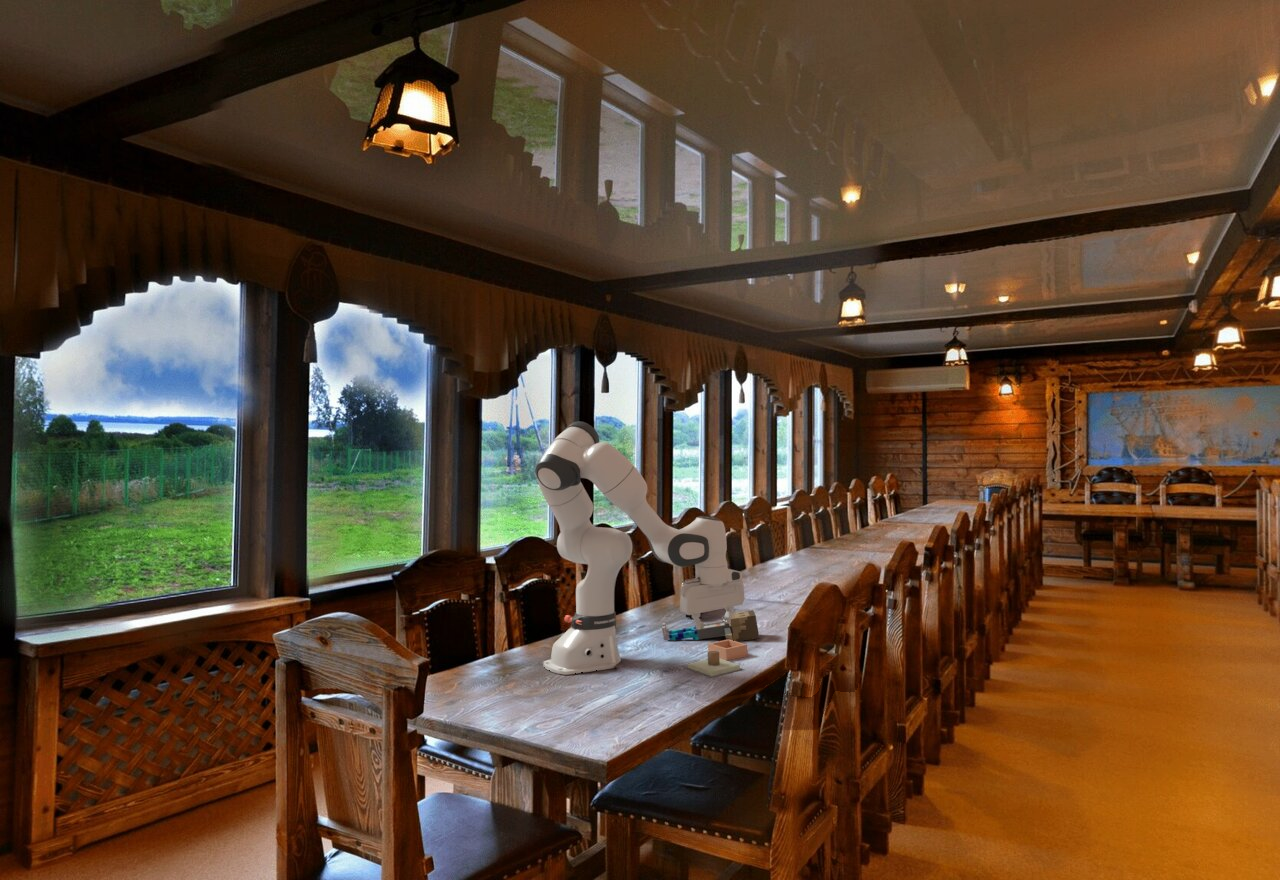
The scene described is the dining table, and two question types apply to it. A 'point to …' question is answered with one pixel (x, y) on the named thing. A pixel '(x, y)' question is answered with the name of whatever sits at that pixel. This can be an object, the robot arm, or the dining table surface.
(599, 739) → the dining table surface
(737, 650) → the orange square open box
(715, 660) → the lid
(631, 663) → the dining table surface
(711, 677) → the mat
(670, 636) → the toy
